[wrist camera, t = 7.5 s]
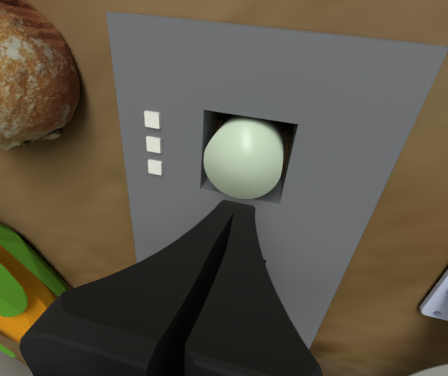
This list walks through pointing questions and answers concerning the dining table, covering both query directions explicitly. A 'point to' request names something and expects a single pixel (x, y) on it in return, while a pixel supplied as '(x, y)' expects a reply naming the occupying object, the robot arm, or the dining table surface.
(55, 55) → the bread roll
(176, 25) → the button console
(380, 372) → the dining table surface
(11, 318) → the corn
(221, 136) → the green button
